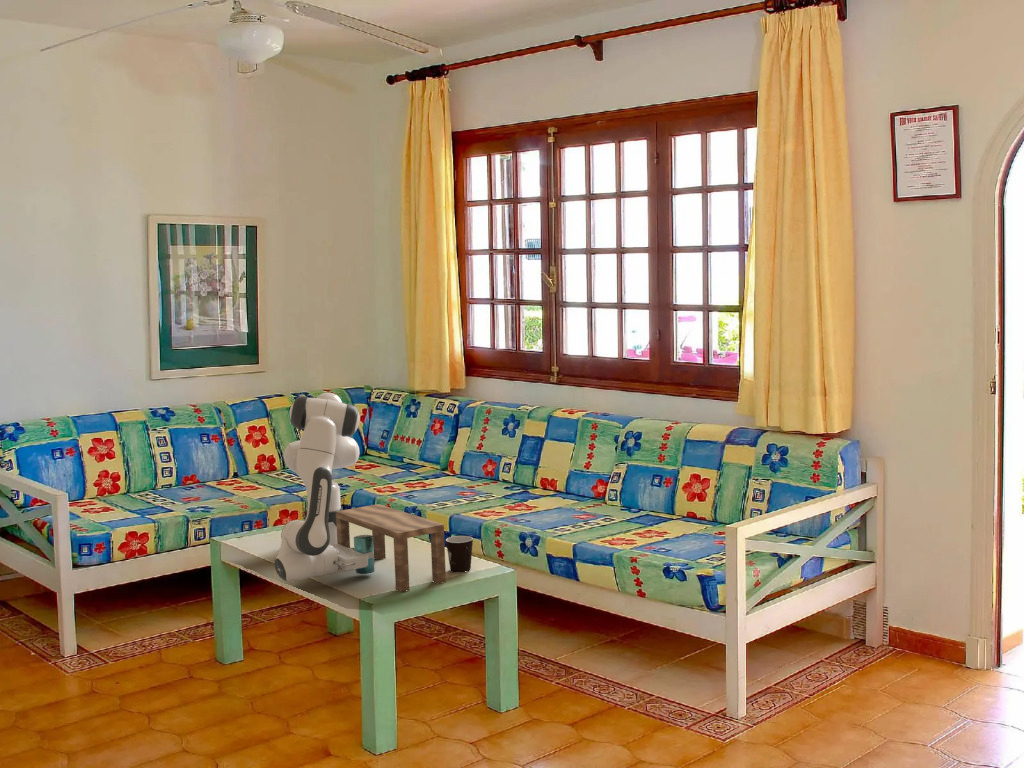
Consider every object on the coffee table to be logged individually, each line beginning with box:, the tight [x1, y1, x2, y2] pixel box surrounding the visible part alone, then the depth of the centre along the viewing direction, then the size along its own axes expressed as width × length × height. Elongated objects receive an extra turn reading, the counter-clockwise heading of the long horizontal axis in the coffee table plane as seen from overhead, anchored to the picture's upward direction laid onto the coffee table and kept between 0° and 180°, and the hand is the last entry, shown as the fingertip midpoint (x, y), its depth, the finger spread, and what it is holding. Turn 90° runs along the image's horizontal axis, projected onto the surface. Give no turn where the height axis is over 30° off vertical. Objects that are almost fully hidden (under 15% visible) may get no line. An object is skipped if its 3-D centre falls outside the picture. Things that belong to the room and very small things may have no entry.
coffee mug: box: [445, 535, 474, 573], centre depth 339 cm, size 12×9×10 cm
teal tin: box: [353, 534, 376, 575], centre depth 337 cm, size 6×6×11 cm
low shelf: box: [336, 503, 447, 593], centre depth 339 cm, size 16×40×18 cm, turn 36°
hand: (366, 552), depth 338 cm, fingers closed on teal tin, 6 cm apart
